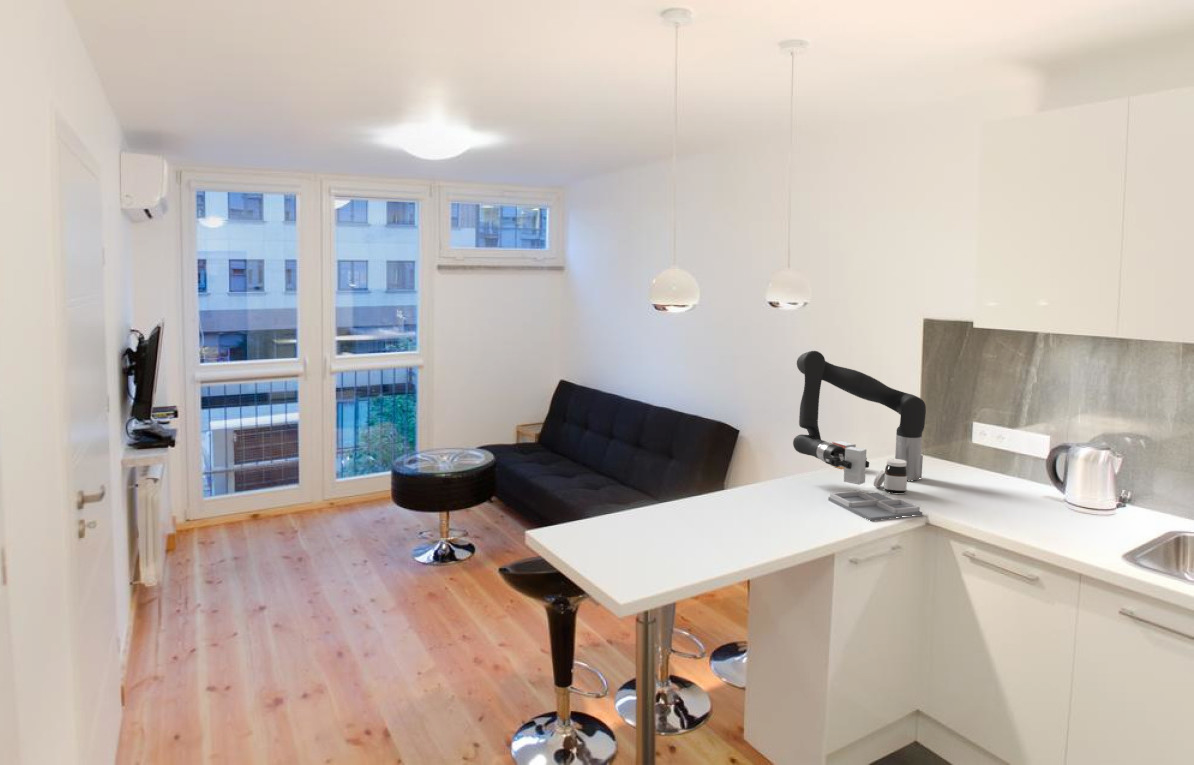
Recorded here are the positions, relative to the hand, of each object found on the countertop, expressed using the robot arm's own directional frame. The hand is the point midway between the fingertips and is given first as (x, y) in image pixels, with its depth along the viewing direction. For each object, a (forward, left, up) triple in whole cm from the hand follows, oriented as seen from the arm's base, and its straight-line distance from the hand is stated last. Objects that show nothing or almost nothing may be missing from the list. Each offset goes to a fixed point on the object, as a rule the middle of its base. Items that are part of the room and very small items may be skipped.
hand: (859, 465), depth 254 cm
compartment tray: (-4, +3, -14) cm, 15 cm away
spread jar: (-23, -13, -15) cm, 30 cm away
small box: (-26, -47, -15) cm, 56 cm away
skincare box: (0, -2, -7) cm, 7 cm away
